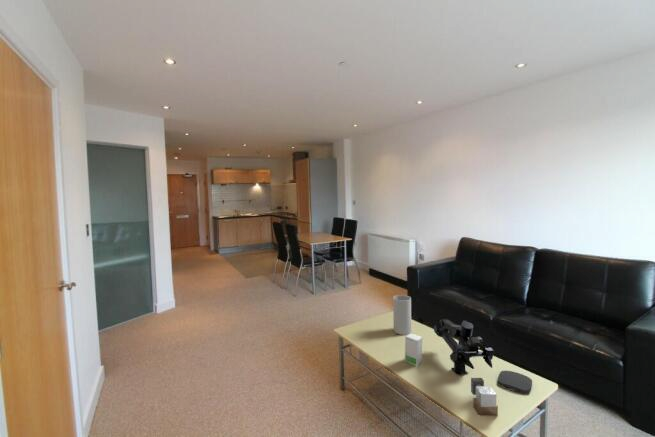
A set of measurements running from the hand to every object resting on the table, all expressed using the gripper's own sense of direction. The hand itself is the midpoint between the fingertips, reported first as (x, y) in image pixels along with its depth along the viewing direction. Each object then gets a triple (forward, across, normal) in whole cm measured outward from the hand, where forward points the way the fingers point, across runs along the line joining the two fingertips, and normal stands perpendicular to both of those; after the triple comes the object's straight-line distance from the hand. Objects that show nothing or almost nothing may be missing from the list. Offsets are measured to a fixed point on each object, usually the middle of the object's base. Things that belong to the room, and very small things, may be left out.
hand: (482, 367), depth 152 cm
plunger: (+6, -3, +11) cm, 13 cm away
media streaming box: (-5, +23, +18) cm, 30 cm away
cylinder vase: (-70, -16, +37) cm, 81 cm away
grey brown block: (+13, -4, +12) cm, 18 cm away
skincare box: (-30, -22, +25) cm, 45 cm away
